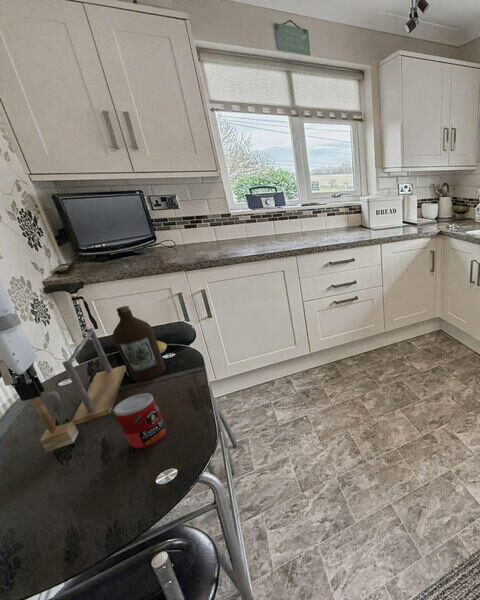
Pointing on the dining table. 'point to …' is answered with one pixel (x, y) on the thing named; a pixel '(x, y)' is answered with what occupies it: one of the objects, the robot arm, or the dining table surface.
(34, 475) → the dining table surface
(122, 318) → the olive oil
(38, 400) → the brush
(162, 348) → the bread roll
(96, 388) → the rack
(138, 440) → the canned food
